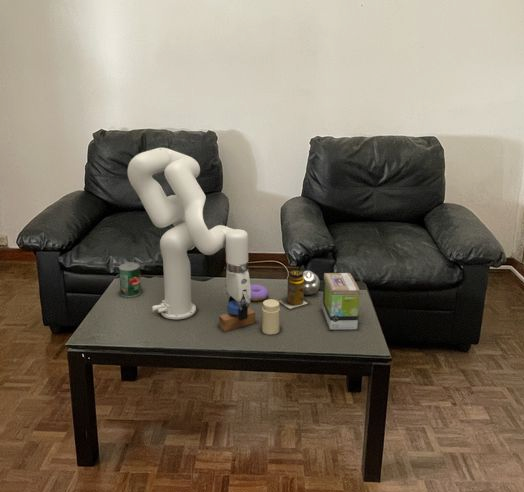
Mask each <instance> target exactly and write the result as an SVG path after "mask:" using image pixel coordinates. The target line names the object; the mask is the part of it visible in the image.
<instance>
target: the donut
mask: <svg viewBox="0 0 524 492" xmlns="http://www.w3.org/2000/svg"><path fill="white" fill-rule="evenodd" d="M250 286H251V299H250V302H262V301H265V300H267V298H268V296H269V291H268V288H267V287H265V286H263V285H260V284H250Z"/></svg>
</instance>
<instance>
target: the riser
mask: <svg viewBox="0 0 524 492" xmlns="http://www.w3.org/2000/svg"><path fill="white" fill-rule="evenodd" d="M218 319H219V320H218V324H219V325H218V326H219V328H221V329H222V330H223V331H224V332H227V331H230V330H234V329H239V328H242V327H245V326H248V325H252V324H256V311H254V310H253V309H252V308H251V307H248V318H247V319H243V320H239V315H234V314H231V313H229V312H228V313H225V314H221V315H219V316H218Z"/></svg>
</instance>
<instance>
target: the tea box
mask: <svg viewBox="0 0 524 492" xmlns="http://www.w3.org/2000/svg"><path fill="white" fill-rule="evenodd" d="M360 291H361V290H360V287H359V285H358V284H357V282H356V281H355V279H354V277H353V275H352V274H351V272H324V273H323V289H322V312H323V315H324V317H325V320H326V323H327V325H328V328H329V330H333V331H334V330H335V331H337V330H357V329H358V327H359V326H358V325H359V323H358V322H359V311H360V309H359V308H360V297H361V295H360V293H361V292H360Z"/></svg>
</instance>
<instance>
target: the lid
mask: <svg viewBox="0 0 524 492" xmlns="http://www.w3.org/2000/svg"><path fill="white" fill-rule="evenodd" d="M241 304H242V305H243V304H244V301H243V302H241ZM238 309H240V308H239V303H238V301H236V300H232V301H230V302H229V303H228V302H227V312H228V313H231V314H234V315H239V310H238Z"/></svg>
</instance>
